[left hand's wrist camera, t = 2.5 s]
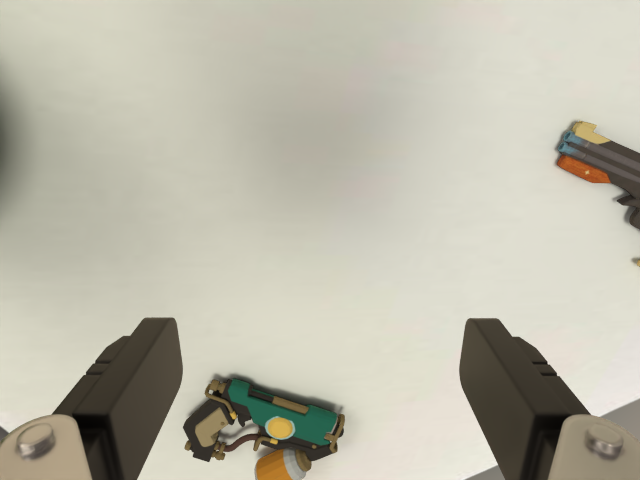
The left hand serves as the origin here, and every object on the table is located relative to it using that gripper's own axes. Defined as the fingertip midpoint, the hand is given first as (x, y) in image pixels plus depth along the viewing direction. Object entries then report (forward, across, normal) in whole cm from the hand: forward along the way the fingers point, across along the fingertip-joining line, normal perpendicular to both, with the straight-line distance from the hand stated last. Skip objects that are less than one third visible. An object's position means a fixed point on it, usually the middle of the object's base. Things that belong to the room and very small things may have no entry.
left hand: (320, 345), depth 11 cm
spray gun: (+29, +7, +31) cm, 43 cm away
